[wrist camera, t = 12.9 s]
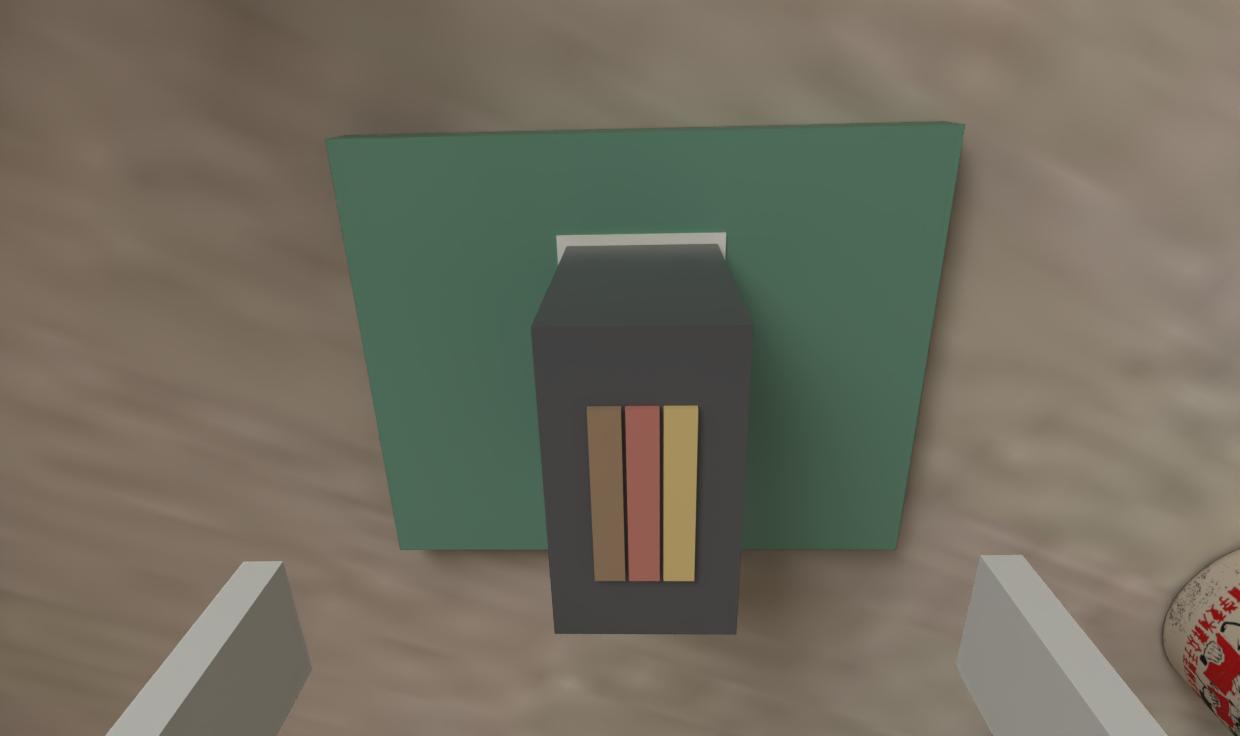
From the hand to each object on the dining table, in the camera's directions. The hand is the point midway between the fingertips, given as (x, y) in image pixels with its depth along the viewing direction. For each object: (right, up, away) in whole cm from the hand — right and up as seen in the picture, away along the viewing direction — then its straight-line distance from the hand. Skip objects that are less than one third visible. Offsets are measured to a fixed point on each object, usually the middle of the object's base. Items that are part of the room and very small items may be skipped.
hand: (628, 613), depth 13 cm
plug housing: (+1, +5, +11) cm, 12 cm away
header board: (+1, +5, +13) cm, 14 cm away
